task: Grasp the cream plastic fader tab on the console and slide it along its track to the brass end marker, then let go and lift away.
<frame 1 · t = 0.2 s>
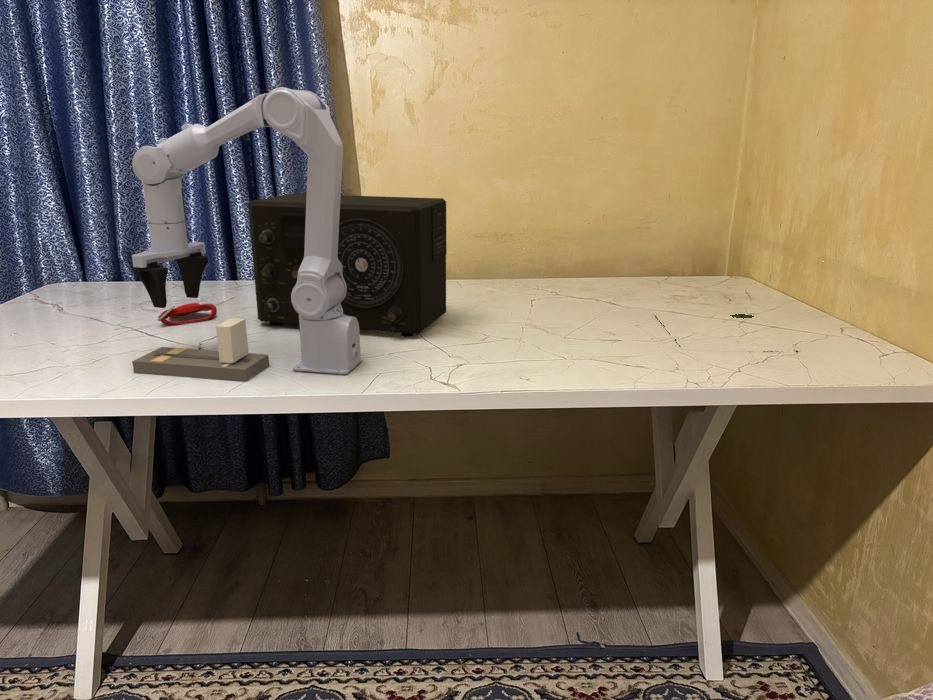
hand: (176, 302, 121), 10 cm above the table, tool pointing down, fingers open, 7 cm apart
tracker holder: (184, 322, 149), on the table
fader tab: (232, 340, 115), point 5 cm above the table, slide at 0.0 cm
vintage radio: (347, 324, 147), on the table
fader console: (202, 369, 118), on the table
mouse mat: (721, 334, 142), on the table
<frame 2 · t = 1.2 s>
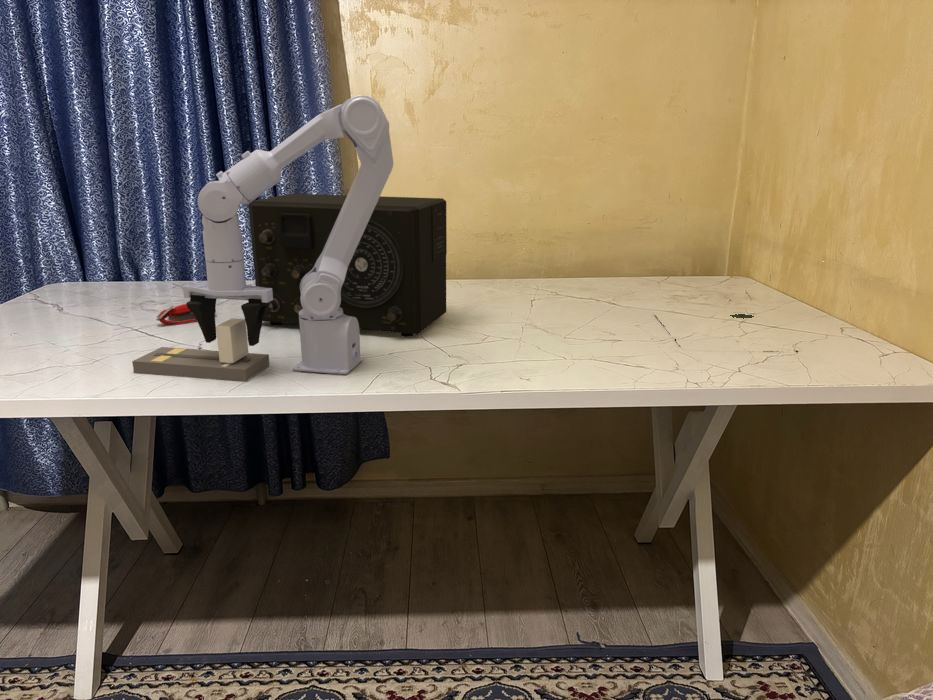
hand: (232, 342, 116), 5 cm above the table, tool pointing down, fingers open, 7 cm apart
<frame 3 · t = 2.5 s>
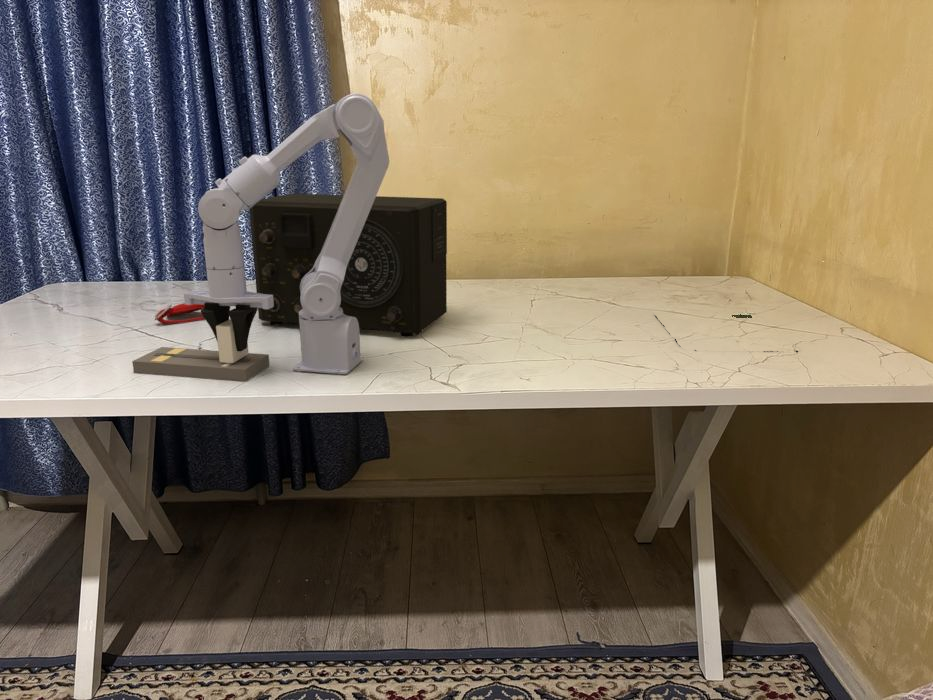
hand: (233, 349, 116), 4 cm above the table, tool pointing down, fingers closed on fader tab, 2 cm apart
fader tab: (232, 340, 115), point 5 cm above the table, slide at 0.0 cm, touching gripper
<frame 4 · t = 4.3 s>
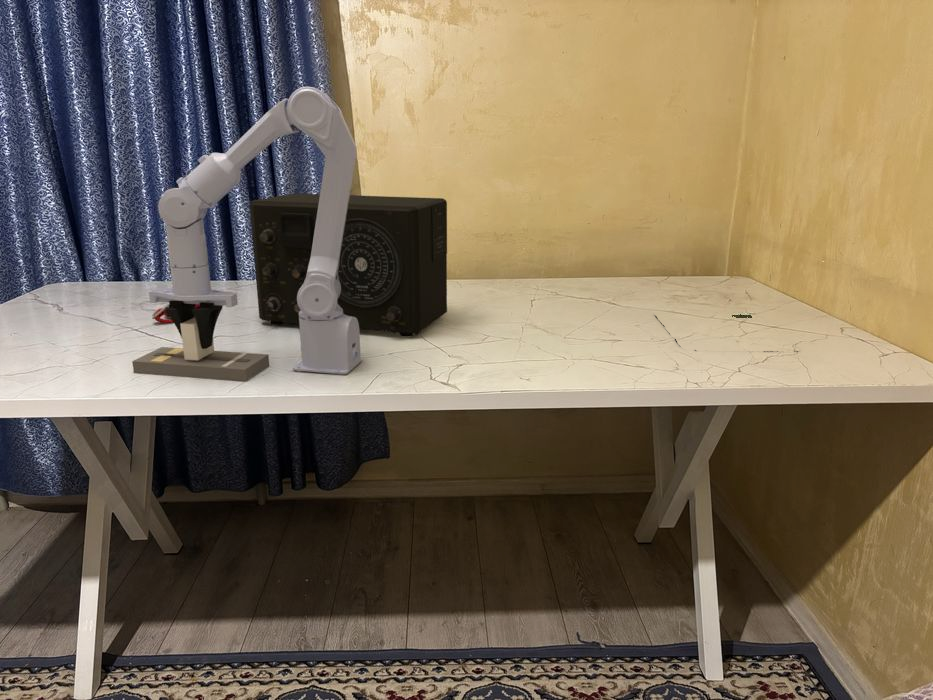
hand: (198, 346, 117), 4 cm above the table, tool pointing down, fingers closed on fader tab, 2 cm apart
fader tab: (197, 337, 117), point 5 cm above the table, slide at 6.3 cm, touching gripper
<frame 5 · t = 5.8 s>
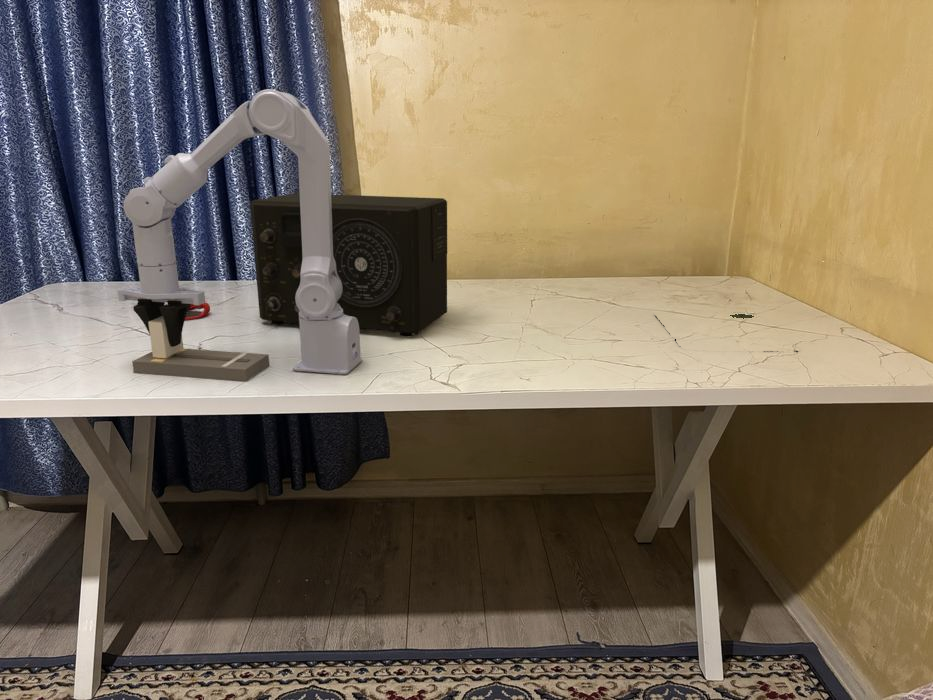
hand: (167, 344, 118), 4 cm above the table, tool pointing down, fingers closed on fader tab, 2 cm apart
fader tab: (166, 335, 118), point 5 cm above the table, slide at 12.0 cm, touching gripper
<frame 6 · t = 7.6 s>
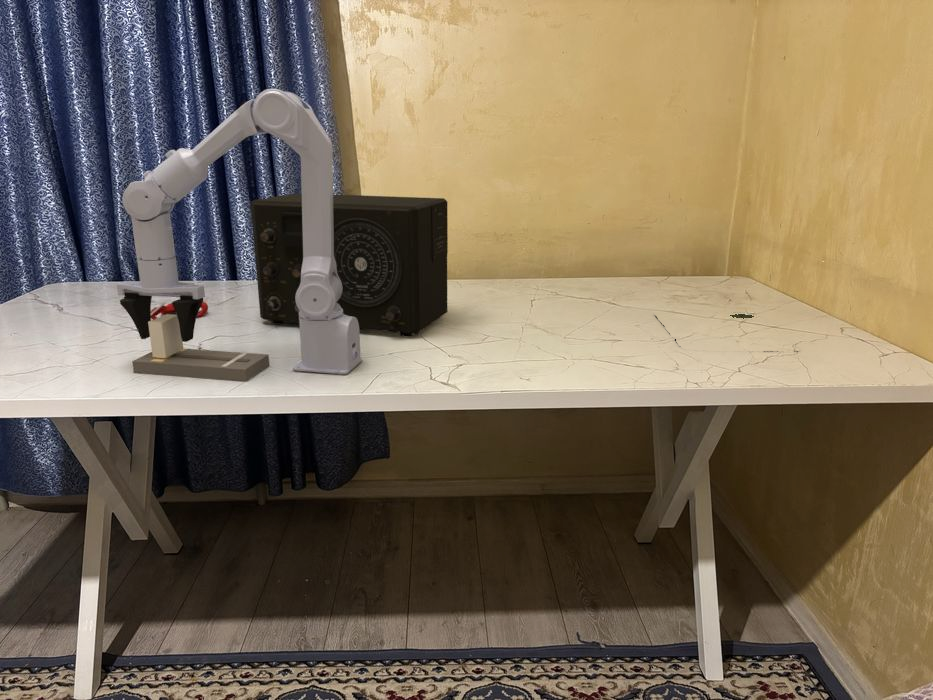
hand: (167, 338, 118), 5 cm above the table, tool pointing down, fingers open, 7 cm apart
fader tab: (166, 335, 118), point 5 cm above the table, slide at 12.0 cm
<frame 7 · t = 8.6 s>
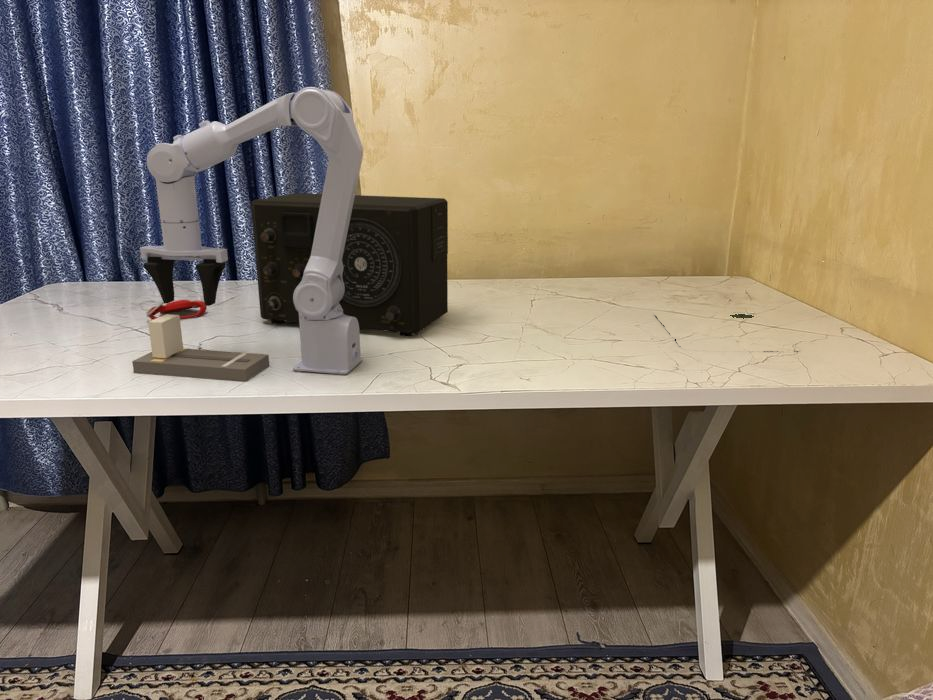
hand: (189, 303, 118), 10 cm above the table, tool pointing down, fingers open, 7 cm apart
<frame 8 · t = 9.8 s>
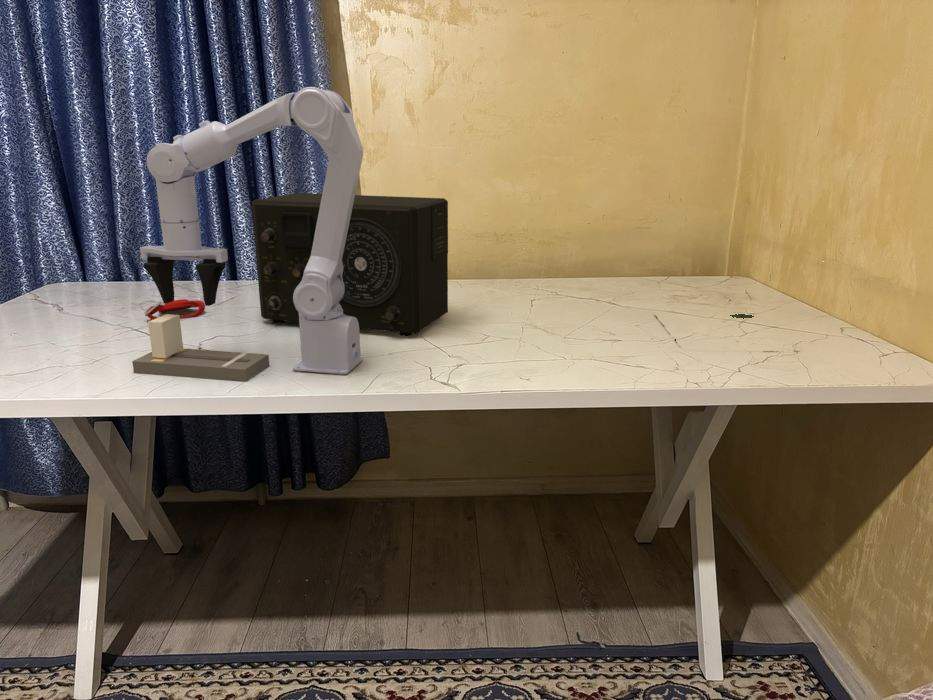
hand: (189, 303, 118), 10 cm above the table, tool pointing down, fingers open, 7 cm apart
at the end: fader tab slide at 12.0 cm; the gripper is holding nothing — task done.
